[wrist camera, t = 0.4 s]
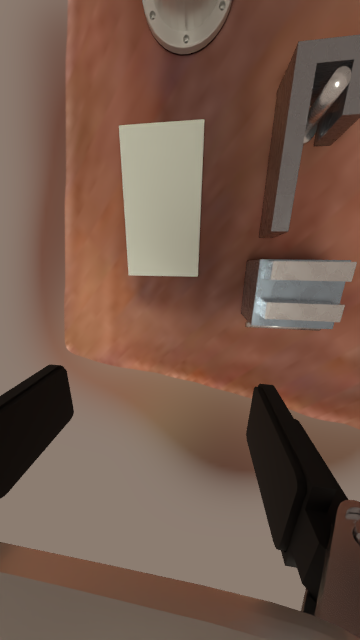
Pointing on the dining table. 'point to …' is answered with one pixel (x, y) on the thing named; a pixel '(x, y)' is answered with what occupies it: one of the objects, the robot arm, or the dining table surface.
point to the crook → (291, 118)
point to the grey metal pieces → (299, 264)
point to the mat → (162, 196)
